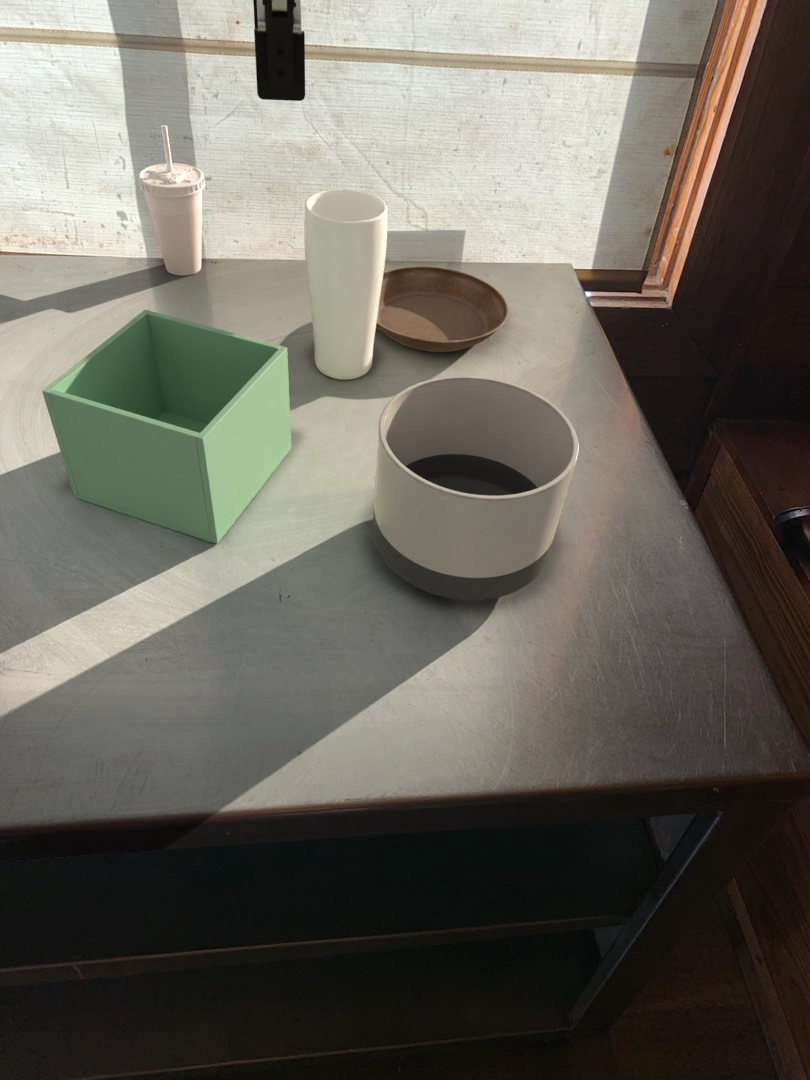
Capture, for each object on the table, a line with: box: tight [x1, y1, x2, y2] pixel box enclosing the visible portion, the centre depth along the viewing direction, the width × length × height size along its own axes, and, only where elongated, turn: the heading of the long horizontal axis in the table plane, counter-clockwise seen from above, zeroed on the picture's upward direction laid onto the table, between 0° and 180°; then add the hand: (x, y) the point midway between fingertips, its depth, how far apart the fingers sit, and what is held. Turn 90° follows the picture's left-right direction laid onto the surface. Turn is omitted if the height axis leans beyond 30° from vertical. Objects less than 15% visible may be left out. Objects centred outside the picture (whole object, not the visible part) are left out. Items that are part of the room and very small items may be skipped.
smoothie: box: [137, 124, 206, 277], centre depth 80 cm, size 6×6×14 cm
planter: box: [372, 375, 579, 601], centre depth 54 cm, size 13×13×10 cm
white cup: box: [303, 188, 388, 381], centre depth 68 cm, size 7×7×15 cm
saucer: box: [376, 265, 509, 353], centre depth 79 cm, size 15×15×3 cm
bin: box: [42, 309, 292, 545], centre depth 58 cm, size 12×12×10 cm
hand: (279, 76), depth 57 cm, fingers open, 9 cm apart
